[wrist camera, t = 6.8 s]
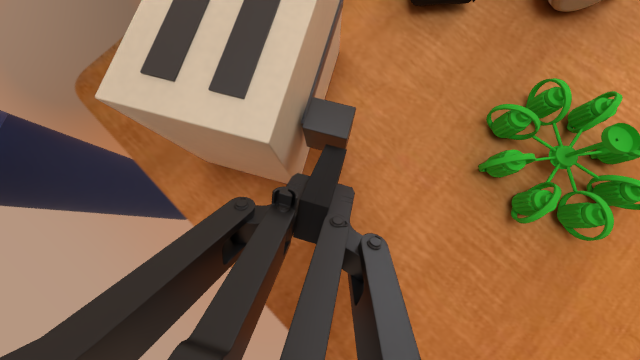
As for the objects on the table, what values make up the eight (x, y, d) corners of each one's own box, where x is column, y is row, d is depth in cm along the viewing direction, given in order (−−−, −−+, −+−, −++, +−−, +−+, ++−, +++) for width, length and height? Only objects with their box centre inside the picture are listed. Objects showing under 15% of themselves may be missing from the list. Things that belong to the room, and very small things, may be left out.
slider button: (306, 146, 21) (301, 127, 17) (314, 120, 22) (311, 96, 18) (343, 156, 21) (347, 139, 17) (351, 129, 21) (356, 107, 18)
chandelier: (578, 274, 23) (681, 292, 16) (438, 175, 25) (479, 154, 19) (651, 149, 25) (770, 120, 19) (516, 67, 28) (578, 14, 21)
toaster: (205, 161, 27) (90, 95, 14) (255, 31, 29) (198, -124, 17) (299, 187, 26) (271, 144, 13) (341, 51, 29) (351, -97, 16)
